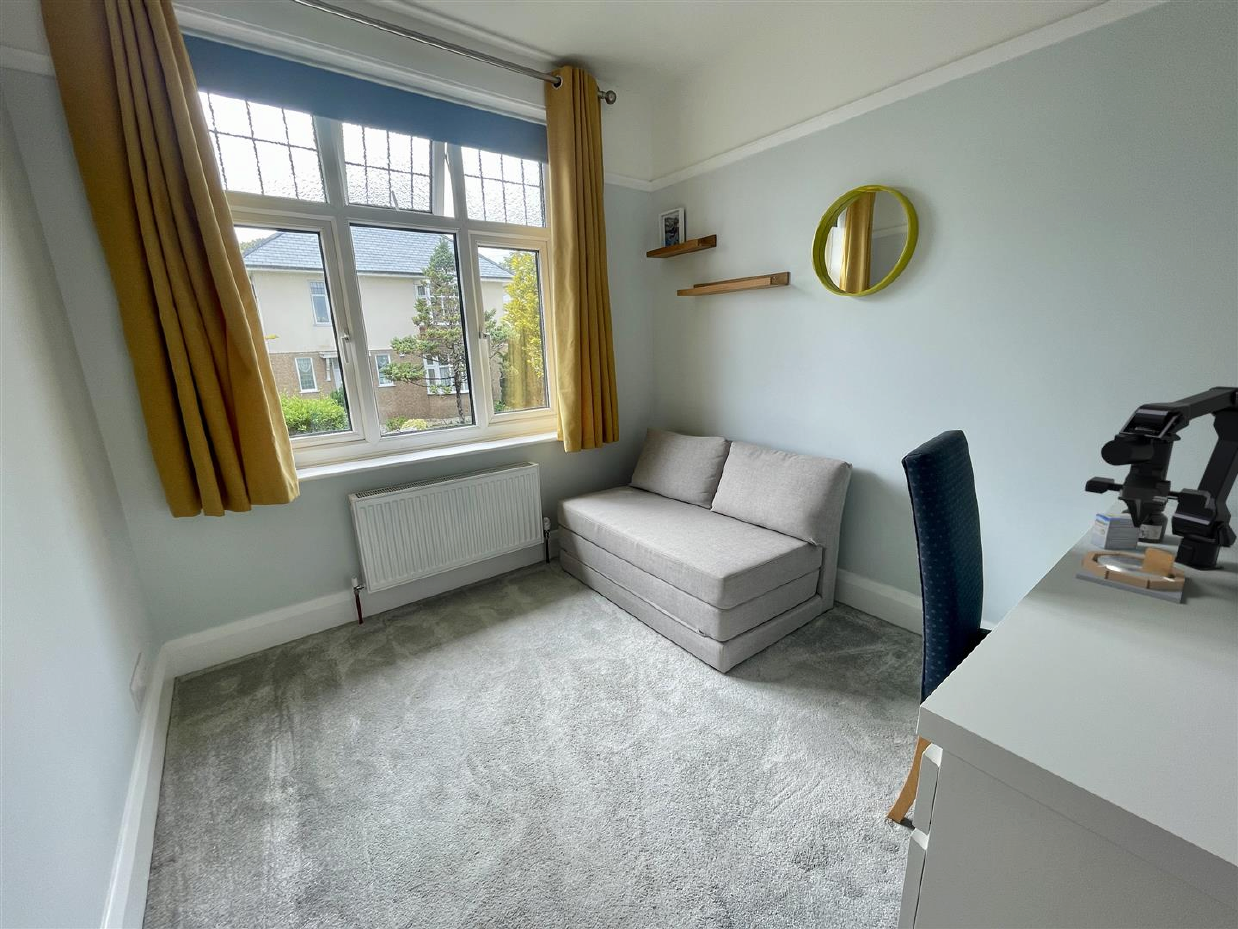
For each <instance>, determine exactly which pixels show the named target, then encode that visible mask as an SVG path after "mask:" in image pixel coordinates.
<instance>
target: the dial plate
mask: <svg viewBox="0 0 1238 929" xmlns="http://www.w3.org/2000/svg"><path fill="white" fill-rule="evenodd" d="M1103 555H1118V556H1126V557H1132V558H1137V559H1142V560H1144V558H1145V556H1140V555H1136V554H1131V553H1126V552H1123V551H1122V552H1121V551H1119V552H1118V551H1111V550H1109V551H1108V550H1107V551H1102V550H1101V551H1100V550H1099V551H1098V550H1097V551H1094V550H1093V551H1091V550H1089V551H1087V552H1086V554H1085V555H1084V556H1083V558H1082V562H1081V566H1080V568H1079V570H1078V571H1077V573H1076V575H1075V578H1076V579H1080V580H1083V581H1087V582H1092V583H1095V584H1099V585H1103V586H1108V587H1113V588H1116V589H1120V590H1123V589H1124V591H1127V590H1128V591H1127V592H1132V593H1135V594H1141V595H1143V596H1148V597H1152V598H1156V599H1160V600H1165V601H1169V602H1172V603H1177V604H1180V603H1181V600H1182V593H1183V590H1184V584H1185V580H1186V575H1187V572H1185V570H1182V569H1180V568H1178V567H1175V566H1173V568H1172V572H1171V575H1170V577H1169V578H1167V577H1163V578H1144V577H1140V576H1136V575H1131V574H1127V573H1123V572H1118V571H1114V570H1111V569H1109V568H1107V566H1103V565H1101V564H1099V563H1097V560H1098V557H1100V556H1103Z"/></svg>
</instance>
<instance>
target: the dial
mask: <svg viewBox="0 0 1238 929" xmlns="http://www.w3.org/2000/svg"><path fill="white" fill-rule="evenodd" d="M1176 555H1177V553H1173V552H1170V551H1166V550H1162V549H1157V548H1154V547H1146V550H1145V553H1144V557H1145V558H1144V560H1142V559H1137V558H1132V557H1126V556H1118V555H1103V556H1100V557H1098V560H1097V563H1099V564H1101V565H1103V566H1107V568H1109V569H1111V570H1114V571H1118V572H1123V573H1127V574H1131V575H1136V576H1140V577H1144V578H1163V577H1167V578H1169V577H1170V575H1171V572H1172V568H1173V567H1174V563H1175V561H1174V560H1175V556H1176Z"/></svg>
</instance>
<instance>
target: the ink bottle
mask: <svg viewBox="0 0 1238 929" xmlns="http://www.w3.org/2000/svg"><path fill="white" fill-rule="evenodd" d="M1144 502H1145V501H1142V500H1141V502H1140V514H1141V512H1142V509H1143V506H1144ZM1166 505H1167V503H1166V504H1165V506H1156V507H1155V508H1154V509H1153V510H1152V511H1151V513H1150V514H1149V515H1148V517H1147V518H1146V519H1145V521H1144V522H1143V524H1142V526H1141V530H1140V535H1139V539H1138V542H1144V543H1161V542H1163V541H1164V540H1165V536H1166V532H1167V526H1168V523H1169V518H1168V516H1166V515H1165V514H1164V511H1165V510H1166ZM1121 513H1128V514H1130V511H1129V509H1128V508H1126V509H1124V510H1122V511H1121ZM1139 517H1140V516H1139Z"/></svg>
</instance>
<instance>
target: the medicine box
mask: <svg viewBox="0 0 1238 929" xmlns="http://www.w3.org/2000/svg"><path fill="white" fill-rule="evenodd" d="M1141 526H1142V525H1141ZM1141 526H1140V527H1139V528H1136V527H1134V525H1133V522H1132V518H1131V515H1130V514H1128V513H1122V512H1121V513H1118V512H1115V513H1114V512H1113V513H1111V512H1108V513H1106V512H1105V513H1104V512H1103V513H1099V512H1098V513H1096V514H1095V519H1094V524H1093V528H1092V533H1091V538H1090V543H1091V544H1092V545H1094V546H1095V547H1098V548H1100V549H1102V550H1137V547H1138V543H1139V541H1138V539H1139V535H1140V530H1141Z"/></svg>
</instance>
